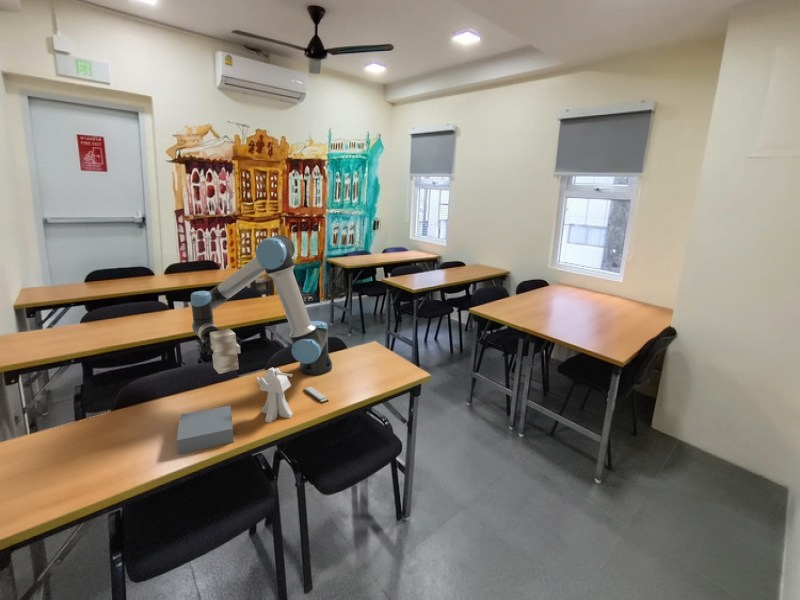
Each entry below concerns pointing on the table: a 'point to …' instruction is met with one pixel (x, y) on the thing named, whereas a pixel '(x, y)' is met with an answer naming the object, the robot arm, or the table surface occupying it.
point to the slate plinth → (205, 429)
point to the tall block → (224, 350)
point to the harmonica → (316, 394)
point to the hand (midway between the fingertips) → (228, 352)
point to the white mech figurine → (275, 394)
